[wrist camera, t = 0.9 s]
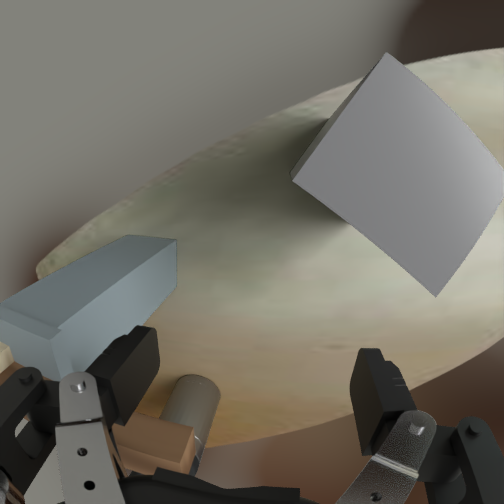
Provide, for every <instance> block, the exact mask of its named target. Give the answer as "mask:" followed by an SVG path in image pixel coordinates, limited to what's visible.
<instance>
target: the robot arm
mask: <svg viewBox="0 0 504 504" xmlns="http://www.w3.org/2000/svg"><path fill="white" fill-rule="evenodd" d="M159 366H160V356H159V348H158V340H157V332H156V329H155V328H151V327H146V326H140V325H136V326H135V327H134V328H133V329H132V330H131V331H130V333H129V334H128V335H125V334H124V335H122V336H120V337H118V338H116V339H114V340H113V341H112V342H111V343H110V344H109V346H108V348H106V349H105V350H104V351H103V352H102V354H100V355H99V356H98V357H97V358H96V359H95V360H94V362H93V363H92V364H91V365H90V366H89V367H88V368H87V369H86V370H85V371H84V372H73V373H70V374H68V375H66V376H65V377H63V378H62V379H61V381H51V380H44V379H43V376H42V374H41V371H40V370H39V369H37V368H35V367H23V368H20V369H18V370H16V371H15V372H14V373H13V374H12V375H11V376H10V377H9V378H8V379H7V380H6V381H5V382H4V383H3V384H2V385H1V386H0V504H25V499H24V494H25V493H26V491H27V489H28V488H29V486H30V484H31V483H32V481H33V479H34V478H35V476H36V475H37V473H38V472H39V470H40V468H41V467H42V465H43V464H44V462H45V461H46V459H47V457H48V456H49V454H50V453H51V451H52V450H53V448H54V447H55V445H57V455H58V463H59V470H60V476H61V483H62V489H63V494H64V500H65V501H64V502H61V503H58V504H319V503H317V502H315V501H312V500H309V499H306V498H302V497H300V488H282V487H268V486H261V487H250V488H236V489H223V488H220V487H218V486H215V485H213V484H210V483H208V482H205V481H203V480H201V479H198V478H196V477H194V476H195V474H196V472H197V470H198V467H199V464H200V461H201V458H202V454H203V451H204V448H205V445H206V441H207V438H208V435H209V432H210V429H211V426H212V422H213V419H214V416H215V413H216V410H217V407H218V403H219V400H220V391H219V389H218V388H217V386H216V385H215V384H214V383H213V382H211V381H210V380H208V379H207V378H204V377H202V376H198V375H187V376H184V377H182V378H180V379H179V380H178V382H177V384H176V386H175V388H174V390H173V392H172V393H171V395H170V397H169V399H168V401H167V403H166V405H165V407H164V409H163V411H162V413H161V415H160V417H159V419H162V420H166V421H170V422H174V423H178V424H182V425H186V426H191V427H194V438H195V449H196V454H195V457H194V459H193V462H192V465H191V468H190V471H189V474H184V473H180V472H175V471H171V470H168V469H164V468H160V467H157V468H156V470H155V473H154V475H145V474H141V473H138V472H136V471H133V470H132V472H131V474H130V475H129V477H128V475H127V473H126V470H125V468H124V465H123V462H122V458H121V455H120V452H119V449H118V445H117V442H116V438H115V435H114V432H113V429H112V426H113V424H114V423H115V424H118V425H121V426H124V427H125V425H126V424H127V422H128V420H129V419H130V417H131V415H132V414H133V412H134V410H135V409H136V407H137V406H138V404H139V402H140V401H141V399H142V397H143V396H144V394H145V393H146V391H147V389H148V388H149V386H150V384H151V383H152V381H153V380H154V378H155V376H156V375H157V373H158V370H159ZM350 396H351V401H352V406H353V411H354V416H355V420H356V425H357V431H358V436H359V441H360V446H361V452H362V456H366V455H372V456H373V457H372V458H371V459H370V461H369V462H368V463H367V465H366V466H365V467H364V469H363V470H362V472H361V473H360V474H359V475H358V477H357V478H356V479H355V481H354V482H353V483H352V484H351V486H350V487H349V488H348V489H347V491H346V492H345V493H344V494H343V495H342V496H341V498H340V499H339V500H338V501H337V502H336V503H335V504H404V502H405V500H406V498H407V497H408V495H409V493H410V491H411V489H412V488H413V486H414V484H415V482H416V481H422V482H424V483H425V488H426V492H427V498H428V502H429V504H504V457H503V455H502V453H501V451H500V448H499V446H498V444H497V442H496V440H495V438H494V436H493V434H492V432H491V430H490V428H489V426H488V425H487V423H486V422H485V421H483V420H482V419H480V418H477V417H472V416H470V417H465V418H463V419H462V420H461V421H460V422H459V424H458V425H457V427H446V426H439V425H436V422H435V420H434V419H433V418H432V417H431V416H430V415H429V414H427V413H425V412H422V411H418V410H417V408H416V406H415V404H414V401H413V399H412V397H411V394H410V392H409V390H408V388H407V386H406V383H405V381H404V379H403V377H402V374H401V372H400V370H399V368H398V367H397V366H396V365H394V364H393V363H392V362H391V361H385V360H384V358H383V355H382V353H381V351H380V349H379V348H361V349H360V350H359V352H358V355H357V359H356V363H355V366H354V370H353V373H352V377H351V381H350ZM25 415H27V417H28V419H29V422H28V423H27V424H26V426H25V427H24V428H23V429H22V431H21V432H20V433H19V434H18V436H17V437H15V429H16V427H17V425H18V424H19V423H20V422H21V420H22V419H23V418H24V417H25ZM462 475H463V476H462ZM463 478H464V479H463ZM465 485H466V486H465Z"/></svg>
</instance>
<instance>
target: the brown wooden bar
mask: <svg viewBox="0 0 504 504" xmlns="http://www.w3.org/2000/svg"><path fill="white" fill-rule="evenodd" d="M23 367H24V366H23V365H21V364H19V363H17V362H15V361H14V358H13V356H12V353H11V350H10V347H9V346H8V345H6V344H4V343H2V342H0V386H1V385H2V384H3V383H4V382H5V381H6V380H7V379H8V378H9V377H10V376H11V375H12V374H13V373H14V372H15V371H16V370H18V369H20V368H23ZM43 379H44V380H51V379H49V378H46V377H44V376H43ZM51 381H53V380H51ZM24 418H25V419H26V420H28V421H29V419H28V417H27V415H25V417H24ZM112 429H113V432H114V435H115V438H116V442H117V445H118V449H119V452H120V455H121V458H122V462H123V465H124V468H127V469H130V470H133V471H136V472H138V473H141V474H145V475H154V473H155V470H156V468H157V467H160V468H164V469H168V470H171V471H175V472H180V473H184V474H189V471H190V468H191V465H192V462H193V459H194V457H195V454H196V449H195V438H194V427H191V426H186V425H182V424H178V423H174V422H170V421H166V420H162V419H158V418H154V417H151V416H147V415H144V414H141V413H137V412H133V414H132V415H131V417H130V419H129V420H128V422H127V424H126V425H125V427H124V426H121V425H118V424H115V423H114V424H113V426H112Z"/></svg>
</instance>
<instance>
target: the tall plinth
mask: <svg viewBox="0 0 504 504" xmlns="http://www.w3.org/2000/svg"><path fill="white" fill-rule="evenodd" d="M176 287H177V240H174V239H165V238H155V237H145V236H136V235H126V236H124V237H122V238H120V239H118V240H116V241H114V242H112V243H110V244H108V245H106V246H104V247H102V248H100V249H98V250H96V251H94V252H92V253H90V254H88V255H86V256H84V257H82V258H80V259H78V260H76V261H74V262H72V263H71V264H69V265H67V266H65V267H63V268H61V269H59V270H57V271H55V272H54V273H52V274H50V275H48V276H46V277H44V278H43V279H41V280H39V281H37V282H36V283H34V284H32V285H30V286H29V287H27V288H25V289H23V290H21V291H20V292H18V293H16V294H15V295H13V296H11V297H9V298H8V299H6V300H5V301H3V302H1V303H0V342H2V343H4V344H6V345H8V346H9V347H10V350H11V353H12V356H13V358H14V361H15V362H17V363H19V364H21V365H23V366H24V367H35V368H37V369H39V370H40V371H41V374H42V376H44V377H46V378H49V379H51V380H53V381H61V379H62V378H63V377H65V376H66V375H68V374H70V373H73V372H84V371H85V370H86V369H87V368H88V367H89V366H90V365H91V364H92V363H93V362H94V360H95V359H96V358H97V357H98V356H99V355H100V354H102V352H103V351H104V350H105V349H106V348H108V346H109V344H110V343H111V342H112V341H113V340H114V339H116V338H118V337H120V336H122V335H124V334H125V335H128V334H129V333H130V331H131V330H132V329H133V328H134V327H135V326H136V325H140V326H142V325H143V324H144V323H145V321H146V320H147V319H148V318H149V317H150V316H151V315H152V313H153V312H154V311H155V310H156V309H157V308H158V307H159V306H160V304H161V303H162V302H163V301H164V300H165V299H166V298H167V297H168V295H169V294H170V293H171V292H172V291H173V290H174V289H175V288H176Z"/></svg>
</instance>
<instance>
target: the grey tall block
mask: <svg viewBox="0 0 504 504" xmlns="http://www.w3.org/2000/svg"><path fill="white" fill-rule="evenodd" d="M290 175H291V178H292V181H293V182H294V183H296V184H297V185H299V186H300V187H301V188H303V189H304V190H305V191H307V192H308V193H310V194H311V195H312V196H314V197H315V198H316V199H318V200H319V201H320V202H322V203H323V204H324V205H326V206H327V207H328V208H330V209H331V210H332V211H334V212H335V213H336V214H337V215H339V216H340V217H341V218H343V219H344V220H345V221H346V222H348V223H349V224H350V225H352V226H353V227H354V228H355V229H357V230H358V231H359V232H360V233H362V234H363V235H364V236H365V237H367V238H368V239H369V240H370V241H371V242H373V243H374V244H375V245H376V246H378V247H379V248H380V249H381V250H382V251H384V252H385V253H386V254H387V255H388V256H390V257H391V258H392V259H393V260H394V261H395V262H397V263H398V264H399V265H400V266H401V267H402V268H404V269H405V270H406V271H407V272H408V273H409V274H410V275H411V276H413V277H414V278H415V279H416V280H417V281H418V282H419V283H420V284H422V285H423V286H424V287H425V288H426V289H427V290H428V291H429V292H430V293H431V294H433V295H434V296H435V297H437V295H438V294H439V293H440V292H441V290H442V289H443V288H444V287H445V285H446V284H447V283H448V281H449V280H450V279H451V277H452V276H453V275H454V273H455V272H456V271H457V269H458V268H459V267H460V265H461V264H462V262H463V261H464V260H465V258H466V257H467V255H468V254H469V253H470V251H471V250H472V248H473V247H474V245H475V244H476V242H477V241H478V239H479V238H480V236H481V235H482V233H483V231H484V230H485V228H486V227H487V225H488V223H489V222H490V220H491V219H492V217H493V215H494V214H495V212H496V210H497V208H498V207H499V205H500V203H501V201H502V200H503V198H504V170H503V168H502V167H501V166H500V164H499V163H498V162H497V160H496V159H495V158H494V156H493V155H492V154H491V153H490V151H489V150H488V149H487V148H486V146H485V145H484V144H483V143H482V142H481V140H480V139H479V138H478V137H477V136H476V135H475V133H474V132H473V131H472V130H471V129H470V128H469V127H468V126H467V124H466V123H465V122H464V121H463V120H462V119H461V118H460V117H459V116H458V115H457V114H456V113H455V112H454V111H453V110H452V109H451V108H450V107H449V106H448V105H447V104H446V103H445V102H444V101H443V100H442V99H441V98H440V97H439V96H438V95H437V94H436V93H435V92H434V91H433V90H432V89H431V88H429V87H428V86H427V85H426V84H425V83H424V82H423V81H422V80H420V79H419V78H418V77H417V76H416V75H415V74H413V73H412V72H411V71H410V70H409V69H407V68H406V67H405V66H404V65H402V64H401V63H400V62H399V61H397V60H396V59H395V58H394V57H392V56H391V55H390V54H388V53H387V52H386V53H385V54H384V55H383V57H382V58H381V59H380V60H379V61H378V62H377V63H376V64H375V66H374V67H373V68H372V69H371V70H370V71H369V73H368V74H367V75H366V76H365V77H364V78H363V79H362V81H361V82H360V83H359V84H358V85H357V86H356V88H355V89H354V90H353V91H352V92H351V93H350V95H349V96H348V97H347V98H346V99H345V100H344V102H343V103H342V104H341V105H340V106H339V107H338V109H337V110H336V111H335V112H334V113H333V115H332V116H331V117H330V118H329V119H328V121H327V122H326V124H325V125H324V126H323V128H322V129H321V130H320V132H319V133H318V134H317V136H316V137H315V139H314V140H313V141H312V143H311V144H310V146H309V147H308V148H307V150H306V151H305V152H304V154H303V155H302V157H301V158H300V159H299V161H298V162H297V164H296V165H295V166H294V168H293V169H292V170H291V172H290Z"/></svg>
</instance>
